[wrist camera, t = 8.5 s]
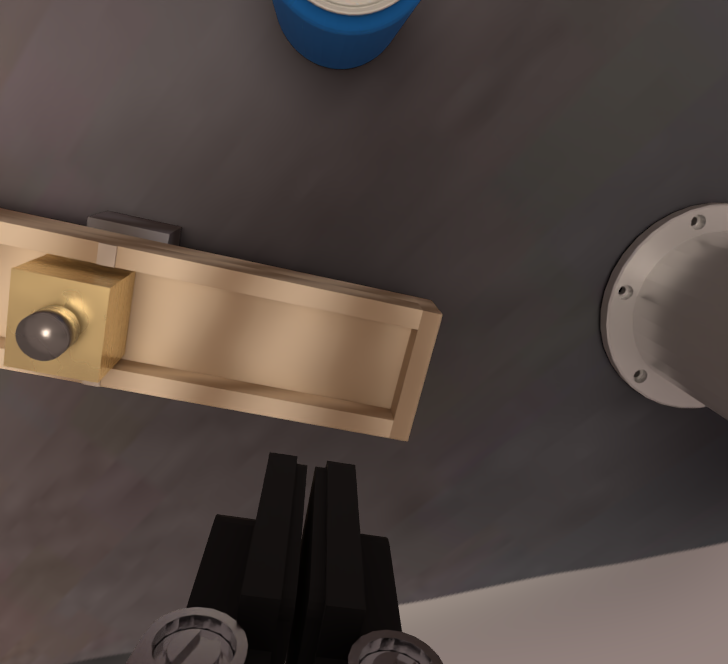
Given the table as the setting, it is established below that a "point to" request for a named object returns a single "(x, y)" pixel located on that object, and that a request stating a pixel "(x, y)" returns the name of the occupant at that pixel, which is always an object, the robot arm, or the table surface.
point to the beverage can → (342, 28)
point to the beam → (243, 327)
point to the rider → (67, 317)
